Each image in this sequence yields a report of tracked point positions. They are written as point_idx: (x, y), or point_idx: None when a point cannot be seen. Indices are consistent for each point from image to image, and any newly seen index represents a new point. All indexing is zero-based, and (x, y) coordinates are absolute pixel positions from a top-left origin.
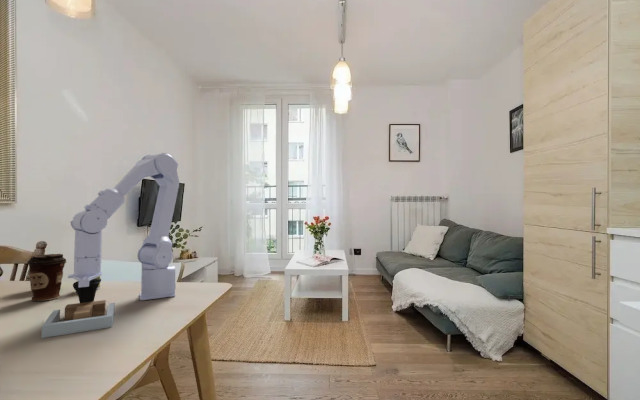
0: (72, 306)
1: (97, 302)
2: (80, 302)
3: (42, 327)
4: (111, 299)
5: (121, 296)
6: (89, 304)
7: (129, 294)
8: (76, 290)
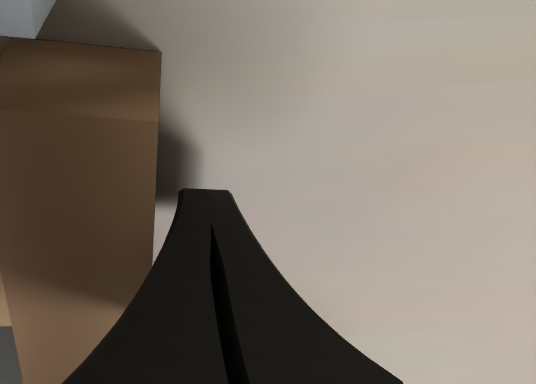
0: (14, 180)
1: (81, 348)
2: (168, 237)
3: None
4: (472, 308)
5: (495, 348)
6: (33, 305)
7: (501, 376)
8: (84, 365)
